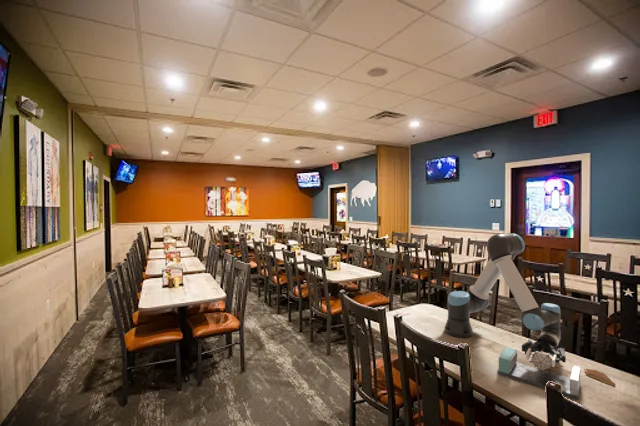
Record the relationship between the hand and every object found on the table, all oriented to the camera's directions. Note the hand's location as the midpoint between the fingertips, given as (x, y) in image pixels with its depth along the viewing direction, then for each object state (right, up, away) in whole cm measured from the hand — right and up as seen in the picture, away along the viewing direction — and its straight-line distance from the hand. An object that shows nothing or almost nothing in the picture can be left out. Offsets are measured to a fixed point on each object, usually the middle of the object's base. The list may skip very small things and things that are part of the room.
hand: (539, 359), depth 129 cm
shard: (+31, -11, +6) cm, 34 cm away
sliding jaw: (-6, -9, +12) cm, 16 cm away
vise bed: (+2, -11, +5) cm, 12 cm away
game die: (+3, -6, +3) cm, 8 cm away
